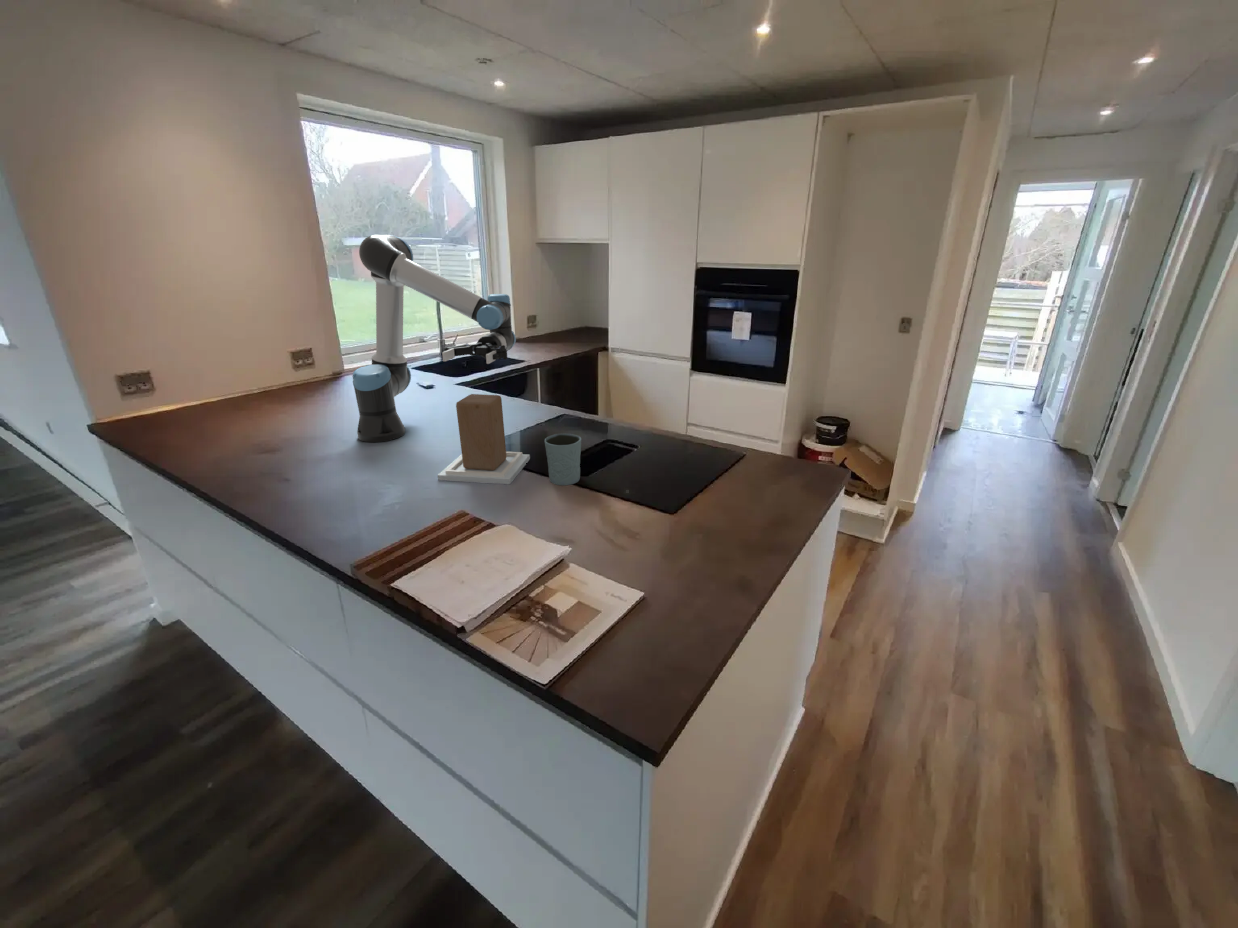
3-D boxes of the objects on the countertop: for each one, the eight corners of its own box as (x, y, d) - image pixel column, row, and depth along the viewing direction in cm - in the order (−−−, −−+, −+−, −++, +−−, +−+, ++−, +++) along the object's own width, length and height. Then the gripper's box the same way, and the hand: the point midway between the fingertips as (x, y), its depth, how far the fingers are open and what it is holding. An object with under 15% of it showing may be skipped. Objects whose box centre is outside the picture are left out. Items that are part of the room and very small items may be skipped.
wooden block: (495, 472, 154) (488, 404, 146) (462, 469, 156) (454, 402, 148) (508, 459, 163) (502, 394, 155) (476, 457, 165) (469, 393, 157)
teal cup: (554, 489, 147) (552, 447, 142) (541, 475, 155) (539, 436, 151) (588, 481, 151) (587, 441, 147) (574, 469, 159) (572, 430, 155)
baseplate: (465, 455, 170) (464, 448, 169) (530, 459, 167) (529, 451, 166) (438, 480, 152) (437, 471, 152) (509, 484, 150) (509, 476, 149)
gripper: (528, 359, 180) (506, 372, 161) (456, 355, 183) (427, 368, 164) (527, 336, 177) (505, 347, 158) (454, 332, 181) (424, 343, 161)
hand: (465, 358), depth 161 cm, fingers open, 13 cm apart
